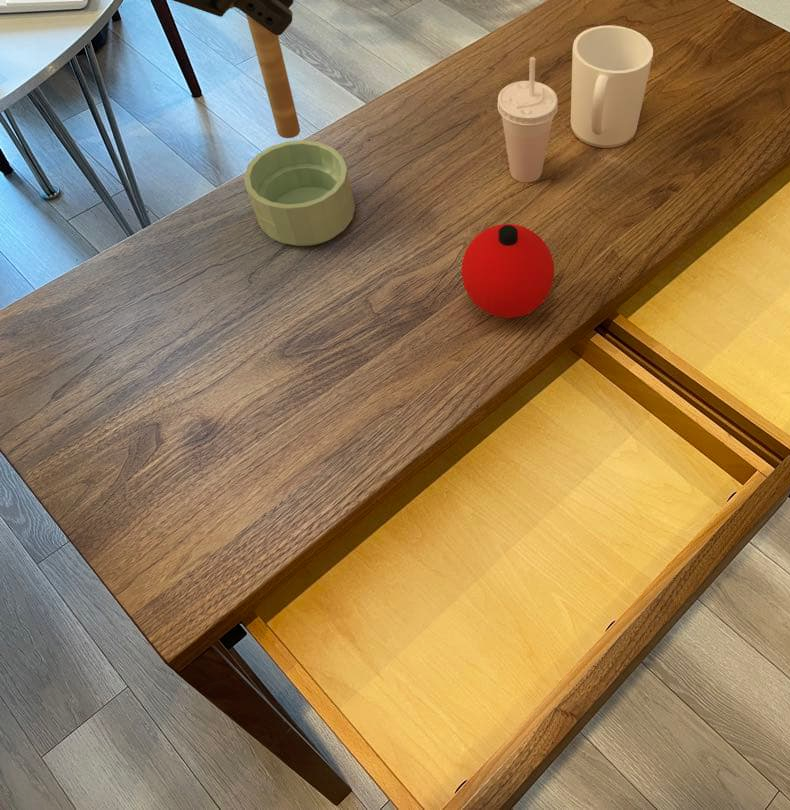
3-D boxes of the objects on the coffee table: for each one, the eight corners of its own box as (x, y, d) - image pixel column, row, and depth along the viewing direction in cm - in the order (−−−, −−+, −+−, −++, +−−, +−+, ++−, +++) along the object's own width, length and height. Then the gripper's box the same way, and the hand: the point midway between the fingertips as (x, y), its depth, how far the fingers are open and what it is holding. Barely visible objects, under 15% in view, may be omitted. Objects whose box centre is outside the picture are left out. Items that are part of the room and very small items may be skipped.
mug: (576, 97, 98) (583, 19, 89) (646, 112, 97) (660, 34, 88) (553, 153, 92) (558, 75, 83) (627, 169, 91) (640, 91, 82)
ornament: (566, 287, 81) (573, 215, 72) (527, 349, 76) (530, 280, 68) (489, 257, 83) (487, 183, 74) (447, 316, 78) (440, 244, 70)
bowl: (267, 260, 81) (252, 217, 76) (253, 194, 86) (237, 150, 81) (364, 239, 83) (355, 196, 78) (345, 176, 89) (335, 132, 83)
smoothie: (565, 171, 90) (573, 61, 79) (526, 198, 88) (530, 89, 76) (524, 145, 92) (527, 34, 81) (486, 171, 90) (483, 60, 78)
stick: (300, 138, 70) (260, -30, 58) (277, 139, 70) (231, -29, 57) (300, 123, 71) (261, -44, 59) (278, 124, 71) (233, -44, 58)
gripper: (53, -161, 44) (314, 35, 56) (94, -258, 52) (317, -66, 63) (2, -64, 48) (255, 101, 60) (46, -166, 55) (265, -1, 67)
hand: (286, 15), depth 62 cm, fingers closed on stick, 2 cm apart
